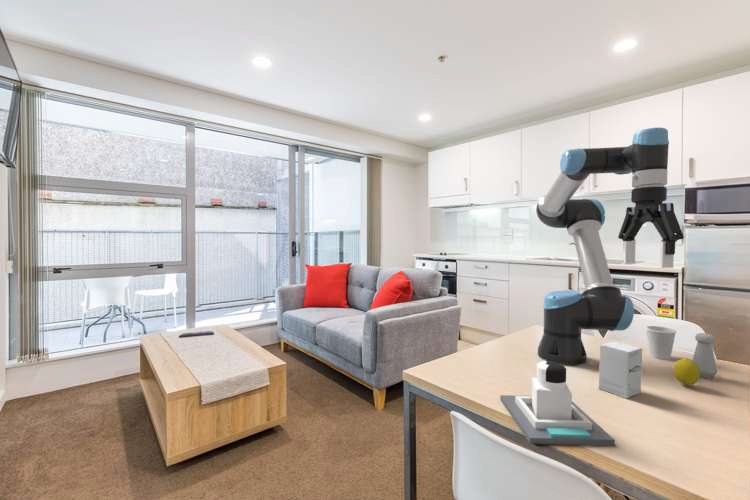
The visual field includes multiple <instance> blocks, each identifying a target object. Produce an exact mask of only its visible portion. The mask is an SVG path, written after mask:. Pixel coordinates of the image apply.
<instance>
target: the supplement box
mask: <svg viewBox="0 0 750 500" xmlns="http://www.w3.org/2000/svg"><path fill="white" fill-rule="evenodd" d="M642 358H643V348H642V347H639V346H636V345H635V346H634V345H632V344H627V343H622V342H619V341H612V342H606V343H603V344H600V345H599V367H598V371H599V373H598V389H599V390H602V391H604V392H608V393H610V394H611V395H612V394H613V395H615V396H618V397H620V398H622V399H625V400H626V399H629V398H630V397H633V396H635V395H639V394H641V391H642V390H641V389H642V371H643V369H642V368H643V367H642V365H643V363H642V362H643V361H642V360H643V359H642Z"/></svg>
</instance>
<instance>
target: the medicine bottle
mask: <svg viewBox="0 0 750 500" xmlns="http://www.w3.org/2000/svg"><path fill="white" fill-rule="evenodd" d="M531 379H532V380H531V382H532V384H531V385H532V386H531V396H532V406H533V410H534V413H535V416H536V418H537V419H538V420H571V412H572V402H573V400H572V399H573V394H572V391H571V390H570V388H569V386H568V385H567V368H566V366H565V365H564V364H559V363H556V362H552V361H547V360H543V361H540V362H538V363H537V364H536V377H532V378H531Z"/></svg>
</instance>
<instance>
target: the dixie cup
mask: <svg viewBox="0 0 750 500" xmlns="http://www.w3.org/2000/svg"><path fill="white" fill-rule="evenodd" d="M645 329H646V335H647V346H648V352H649V353H648V354H649V356H650V357H651V358H653V359H657V360H661V361H662V360H664V361H669V360H671V357H672V352H673V347H674V342H675V337H676V333H677V330H675V329H674V328H669V327H666V326H660V325H659V326H658V325H656V326H655V325H648V326H645Z"/></svg>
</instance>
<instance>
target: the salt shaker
mask: <svg viewBox="0 0 750 500" xmlns="http://www.w3.org/2000/svg"><path fill="white" fill-rule="evenodd" d="M694 337H695V341H697V343H696V346H695V350H694V353H693V358H692V360H691V361H693V362H694V363H695V364H696V365H697V366H698V368H699V372H700V377H699V379H700V378H701V379H704V380H713V379H714V378H715V376H716V375H717V374H718V368H717V364H716V359H715V358H716V357H715V354H714V348H713V344H715V342H716V338H715V336H713V335H712V334H709V333H705V332H704V333H703V332H702V333H701V332H699V333H696V334H695V336H694Z"/></svg>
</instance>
